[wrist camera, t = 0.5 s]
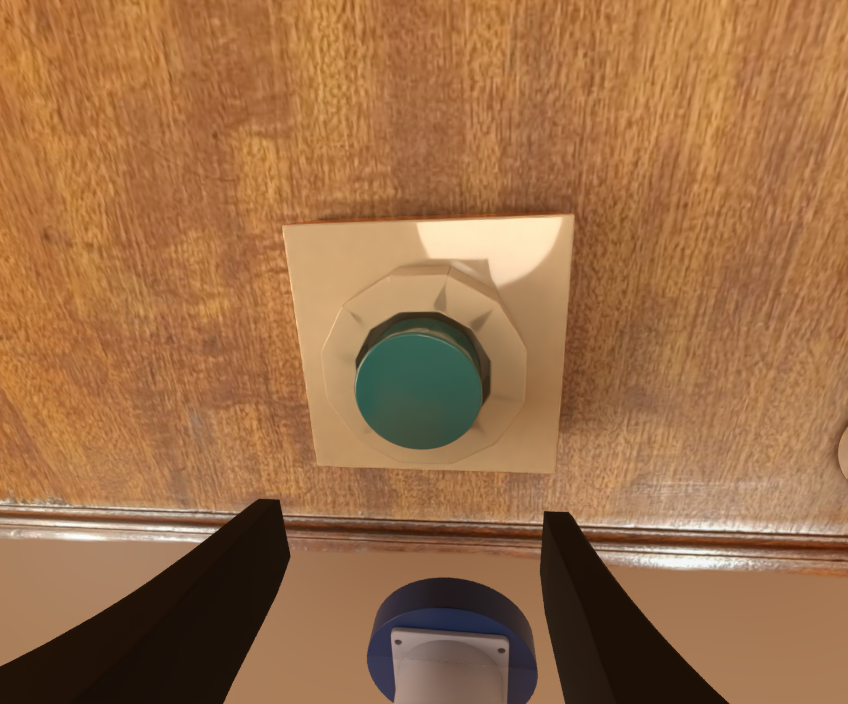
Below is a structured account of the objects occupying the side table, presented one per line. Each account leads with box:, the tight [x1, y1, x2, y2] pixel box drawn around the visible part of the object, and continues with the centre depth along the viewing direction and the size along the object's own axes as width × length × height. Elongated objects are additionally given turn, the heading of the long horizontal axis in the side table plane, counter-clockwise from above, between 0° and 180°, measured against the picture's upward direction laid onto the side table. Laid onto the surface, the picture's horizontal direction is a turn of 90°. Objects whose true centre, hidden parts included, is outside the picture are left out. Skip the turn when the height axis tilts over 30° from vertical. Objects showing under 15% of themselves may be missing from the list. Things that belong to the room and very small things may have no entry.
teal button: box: [354, 318, 483, 450], centre depth 14 cm, size 4×4×2 cm
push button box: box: [282, 211, 575, 474], centre depth 17 cm, size 10×10×5 cm
